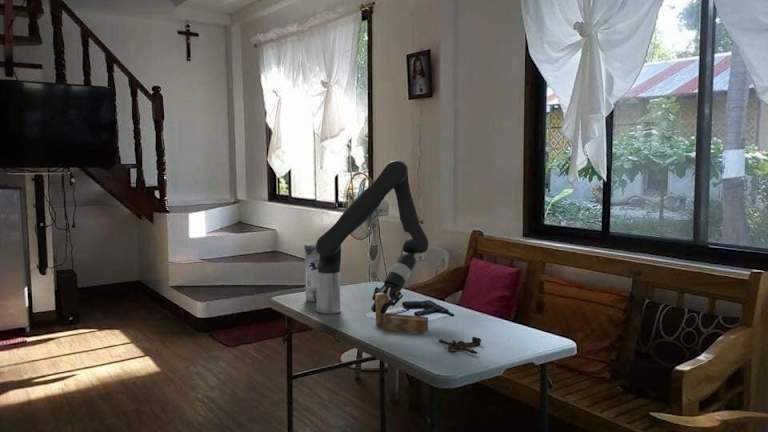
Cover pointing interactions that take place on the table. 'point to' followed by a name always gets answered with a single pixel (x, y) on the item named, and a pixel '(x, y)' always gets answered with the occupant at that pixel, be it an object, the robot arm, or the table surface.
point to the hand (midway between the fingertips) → (377, 311)
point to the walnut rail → (406, 323)
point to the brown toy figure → (462, 345)
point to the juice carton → (311, 271)
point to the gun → (426, 307)
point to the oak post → (379, 303)
